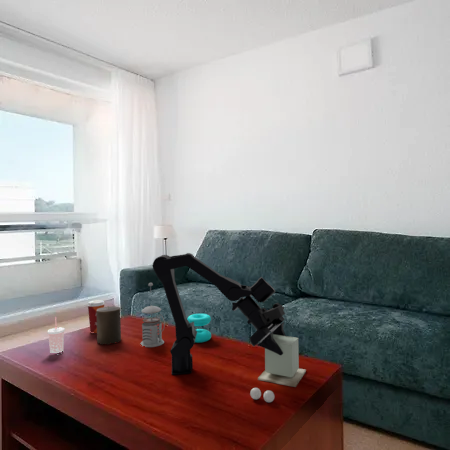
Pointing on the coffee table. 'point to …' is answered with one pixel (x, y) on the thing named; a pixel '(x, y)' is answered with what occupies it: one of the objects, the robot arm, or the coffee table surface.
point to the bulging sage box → (283, 357)
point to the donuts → (201, 321)
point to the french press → (152, 327)
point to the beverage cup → (56, 338)
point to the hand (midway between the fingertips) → (285, 350)
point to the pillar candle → (108, 325)
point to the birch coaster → (283, 378)
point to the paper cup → (94, 313)
